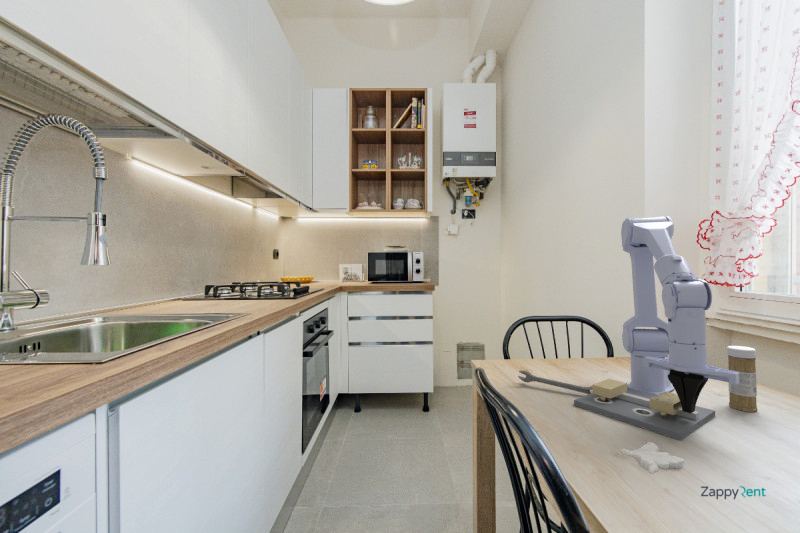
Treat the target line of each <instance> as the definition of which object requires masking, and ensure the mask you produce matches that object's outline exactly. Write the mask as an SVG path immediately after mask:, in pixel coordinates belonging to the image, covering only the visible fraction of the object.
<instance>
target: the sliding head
mask: <svg viewBox="0 0 800 533" xmlns="http://www.w3.org/2000/svg"><path fill="white" fill-rule="evenodd" d="M650 409H654V410H657V411H660V416H661V417H666V413H668V414H671V415H675V414H677V413H678V412H680V411H682V406H681V403H680V400H679V397H678V395H677V393H676V392H672V391H670V392H667V391H664V392H662V393H660V394H658V395H656V396H654V397H652V398H650Z"/></svg>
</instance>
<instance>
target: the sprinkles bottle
mask: <svg viewBox="0 0 800 533" xmlns="http://www.w3.org/2000/svg"><path fill="white" fill-rule="evenodd" d="M726 353H727V358H728V360H727V361H728V370H730V371H735V372H739V382H740V383H738V384H736V385H735V384H730V383H728V393H729V398H728V399H729V401H728V405H729V406H730V407H731V408H732V409H735V410H738V411H743V412H748V413H749V412H750V413H754V412H755V413H756V412H757V411H758V406H757V404H758V403H757V396H758V392H757V390H758V387H757V370H756V360H757V351H756V348H754V347H749V346H744V345H743V346H742V345H728V346H727V347H726Z"/></svg>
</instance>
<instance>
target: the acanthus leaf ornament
mask: <svg viewBox="0 0 800 533" xmlns="http://www.w3.org/2000/svg"><path fill="white" fill-rule="evenodd" d="M620 453H621V454H623V455H628V456H631V457H633V458H636V459H637V460H638V461H639V464H640V466H641V467H644V468H645V469H647V470H648V473H649V474H653V475H654V473H656V472H657V473H658V472H659V468H661V469H663V470H668V469H669V468H673V469H682V468H683V466H684V464H685V459H684V458H682V457H679V456H676V455H671V454H670V453H669V452H667V451H666V452H665V451H659V446H658V445H657V444H656V443H654V442H652V441H651V442H649V441H647V442H646V443H645V444H643V445H642V446H641V447H639V448H638V449H634V450H629V449H628V448H622V449H621V450H620Z"/></svg>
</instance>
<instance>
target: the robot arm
mask: <svg viewBox="0 0 800 533" xmlns="http://www.w3.org/2000/svg"><path fill="white" fill-rule="evenodd" d="M620 231H621V232H620V233H621V234H620V235H621V236H620V237H621V246H622V251H623V252H625V253H628V254H629V257H630V263H631V275H632V292H633V294H632V295H633V304H634V305H633V306H634V307H633V308H634V315H633V316H631V317H630V318H629V319H627V320H625V322H624V323H623V325H622V334H621V335H622V336H621V337H622V338H621V339H622V346H623V348H624V350H625V351H626V352H627V353H629V355H630V383H627V388H628V389H632V390H636V391H640V392H644V393H648V394H652V395H658V394H660V393H662V392H664V391H667V392H672V391H674V390H675V394H677V395H678V397H679V400H680V403H681V406H682V410H683V411H684V412H687V413H693V412H694V411H695V406H697V402H698V398H699V396H700V394H701V393H702V390H703V389H704V387H705V385H707V384H706V383H708V381H709V379H710V380H715V381H720V382H724V383H728V384H729V383H730V384H735V385H736V384H738V383H740V382H739V372H735V371H730V370H729V369H725V368H721V367H717V366H712V365H708V364H707V363H708V362H707V335H706V334H707V330H706V329H707V326H706V325H707V323H706V311H708V310H709V309H710V308H711V305H712V301H713V294H712V289H711V286H710V284H709V282H708V281H706V280H703V279H702V278H701V277H696V276H695V273H694V272H693V270H692V268H691V267H690V265H689V263H688V262H687V259H686V258H685V257H684V256H682V255H679V254H677V252H676V250H675V247H674V245H673V242H672V238H673V236H674V232H675V224H674V222H673V219H672V218H671V217H670V216H668V215H664V216H655V217H654V216H653V217H638V218H637V217H636V218H630V217H627V218H625V219H624V220H623V221H622V224H621V230H620ZM654 259H655V263H654ZM655 273H656V275H657V278H658V280H659V283H660V284H661V287H662V289H661V301H662V304H663V308H664V316H665V318H667V322H666V321H665V320H663V319H662V318H660V317H659V316H658V307H657V291H656V279H655ZM671 385H672V386H671Z"/></svg>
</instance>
